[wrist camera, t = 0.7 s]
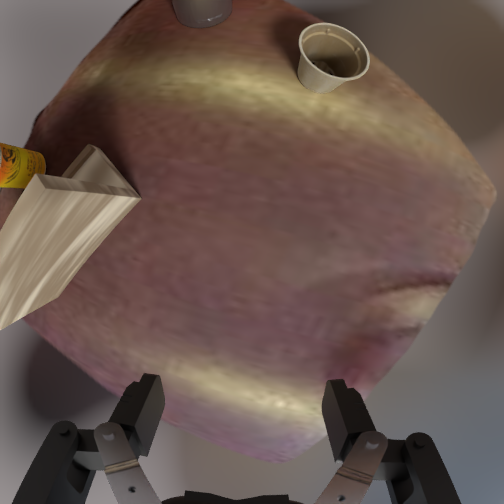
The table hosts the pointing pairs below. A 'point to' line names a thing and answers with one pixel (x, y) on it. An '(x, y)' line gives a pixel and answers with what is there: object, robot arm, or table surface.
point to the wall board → (58, 230)
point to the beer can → (19, 166)
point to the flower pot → (330, 57)
